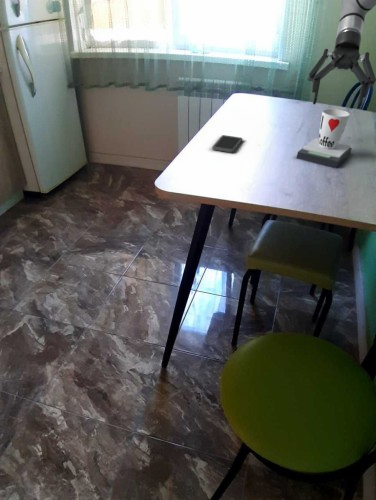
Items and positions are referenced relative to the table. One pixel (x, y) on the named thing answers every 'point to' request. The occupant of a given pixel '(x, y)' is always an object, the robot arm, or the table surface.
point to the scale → (324, 153)
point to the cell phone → (227, 143)
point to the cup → (332, 127)
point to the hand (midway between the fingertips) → (337, 104)
